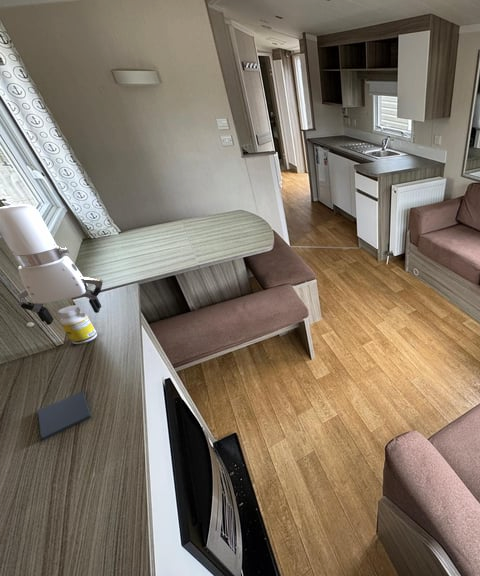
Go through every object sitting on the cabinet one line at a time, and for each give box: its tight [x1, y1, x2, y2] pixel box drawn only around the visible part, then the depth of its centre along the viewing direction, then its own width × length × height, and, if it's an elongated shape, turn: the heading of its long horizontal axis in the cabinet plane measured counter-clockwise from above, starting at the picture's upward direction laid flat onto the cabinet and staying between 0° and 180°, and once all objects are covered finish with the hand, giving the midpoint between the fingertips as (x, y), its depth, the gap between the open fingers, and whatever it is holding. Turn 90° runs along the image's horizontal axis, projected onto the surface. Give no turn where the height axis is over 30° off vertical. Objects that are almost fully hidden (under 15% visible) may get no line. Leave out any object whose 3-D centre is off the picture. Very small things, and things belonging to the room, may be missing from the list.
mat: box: [37, 390, 92, 441], centre depth 62 cm, size 10×7×1 cm
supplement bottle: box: [57, 305, 98, 345], centre depth 83 cm, size 5×5×10 cm
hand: (74, 316), depth 82 cm, fingers open, 9 cm apart
